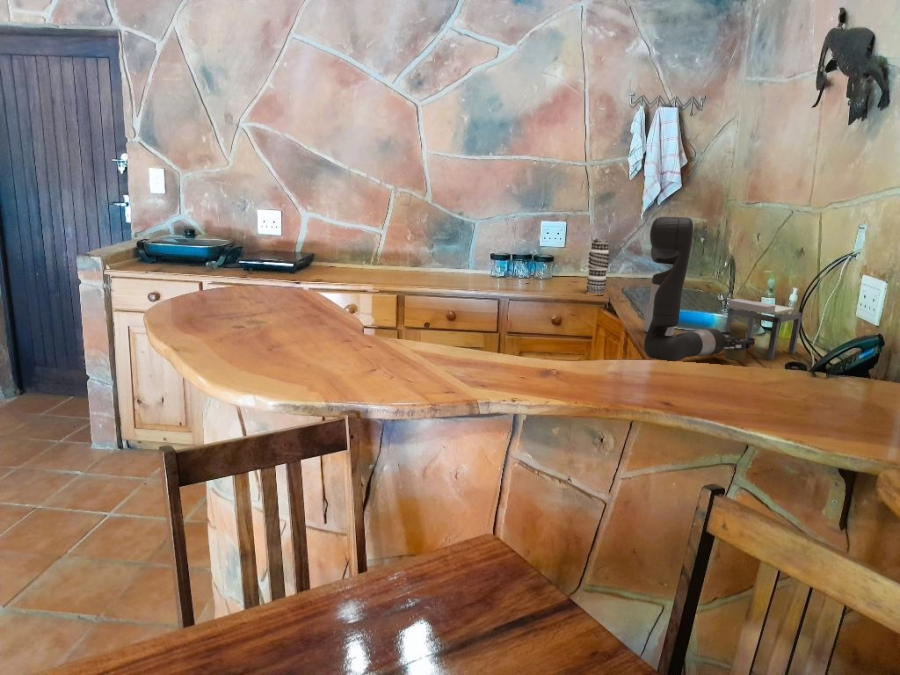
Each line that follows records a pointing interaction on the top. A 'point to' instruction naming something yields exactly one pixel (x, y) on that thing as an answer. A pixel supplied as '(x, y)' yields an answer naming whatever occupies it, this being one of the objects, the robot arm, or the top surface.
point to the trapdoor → (759, 306)
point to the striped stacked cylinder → (598, 266)
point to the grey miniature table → (774, 331)
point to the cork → (736, 330)
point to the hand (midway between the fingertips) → (741, 338)
